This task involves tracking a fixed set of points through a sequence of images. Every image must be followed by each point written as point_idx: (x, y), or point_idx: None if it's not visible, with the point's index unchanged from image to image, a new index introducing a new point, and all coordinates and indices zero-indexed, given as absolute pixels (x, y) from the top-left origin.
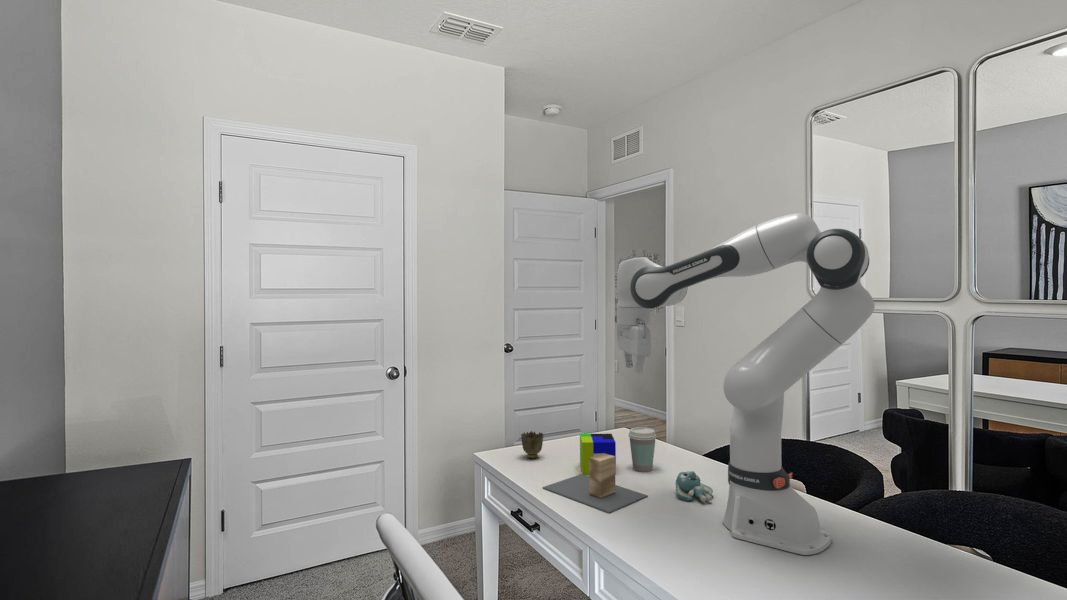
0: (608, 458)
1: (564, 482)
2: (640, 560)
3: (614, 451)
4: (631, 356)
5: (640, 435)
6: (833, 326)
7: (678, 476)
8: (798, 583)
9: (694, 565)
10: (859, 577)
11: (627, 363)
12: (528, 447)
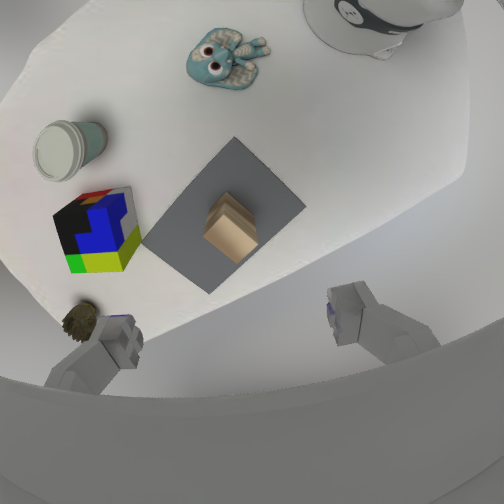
0: (239, 228)
1: (185, 267)
2: (423, 188)
3: (114, 203)
4: (77, 362)
5: (77, 156)
6: None
7: (210, 78)
8: (460, 60)
9: (436, 136)
10: None
11: (137, 355)
12: (95, 324)
